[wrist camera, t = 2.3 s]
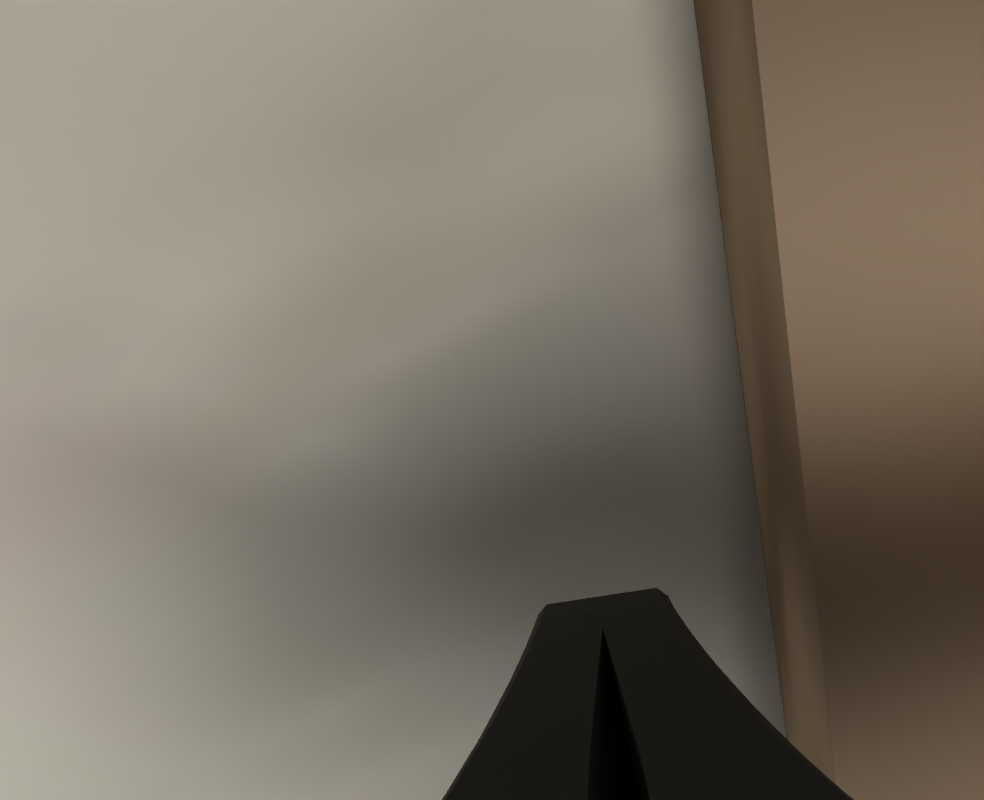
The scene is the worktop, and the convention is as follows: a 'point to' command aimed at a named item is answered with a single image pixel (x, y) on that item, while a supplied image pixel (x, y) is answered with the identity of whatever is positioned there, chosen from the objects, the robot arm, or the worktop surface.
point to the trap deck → (862, 368)
